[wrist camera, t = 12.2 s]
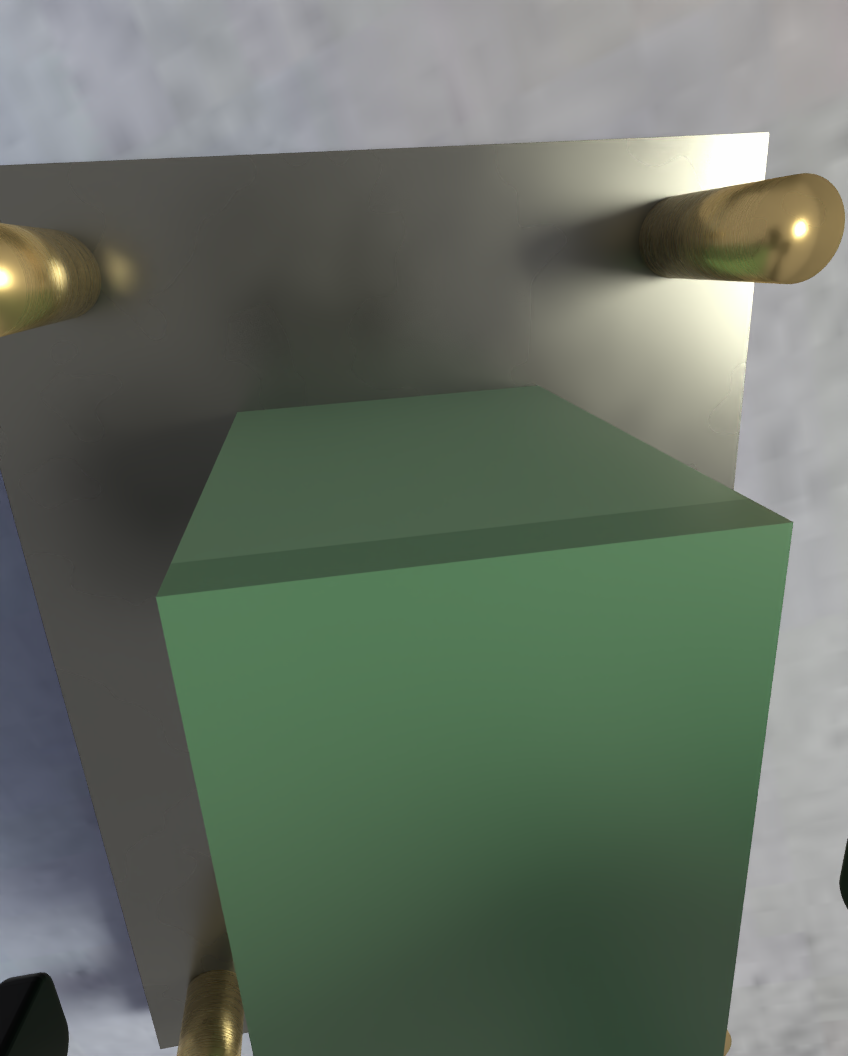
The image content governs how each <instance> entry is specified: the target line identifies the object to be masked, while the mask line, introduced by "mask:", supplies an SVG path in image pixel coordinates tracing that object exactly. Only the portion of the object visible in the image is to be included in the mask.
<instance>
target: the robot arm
mask: <svg viewBox="0 0 848 1056" xmlns="http://www.w3.org/2000/svg"><path fill="white" fill-rule="evenodd" d="M839 884H840V891H841V895H842V898H843V900H844V903H845V905H846V907H847V909H848V839H847V844H846V849H845V854H844V859H843V864H842V870H841V875H840V881H839ZM68 1043H69V1032H68V1025H67V1021H66V1018H65V1016H64V1013H63V1010H62V1007H61V1004H60V1001H59V998H58V995H57V992H56V989H55V986H54V983H53V981H52V979H51V977H50V976H49V975H48V974H46V973H42V972H40V973H34V974H28V975H23V976H17V977H12V978H9V979H6V980H5V981H3V982H2V983H1V984H0V1056H67V1053H68Z"/></svg>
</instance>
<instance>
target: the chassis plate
mask: <svg viewBox="0 0 848 1056" xmlns="http://www.w3.org/2000/svg"><path fill="white" fill-rule="evenodd" d="M768 139H769V133H745V134H722V135H699V136H676V137H652V138H629V139H606V140H582V141H559V142H536V143H513V144H489V145H466V146H443V147H419V148H396V149H373V150H350V151H326V152H303V153H280V154H256V155H233V156H210V157H187V158H163V159H140V160H117V161H93V162H70V163H47V164H24V165H0V469H1V473H2V477H3V480H4V484H5V488H6V491H7V495H8V498H9V502H10V506H11V509H12V513H13V517H14V520H15V524H16V527H17V531H18V535H19V538H20V542H21V546H22V549H23V553H24V556H25V560H26V564H27V567H28V571H29V575H30V578H31V582H32V585H33V589H34V593H35V596H36V600H37V604H38V607H39V611H40V614H41V618H42V622H43V625H44V629H45V633H46V636H47V640H48V643H49V647H50V651H51V654H52V658H53V662H54V665H55V669H56V672H57V676H58V680H59V683H60V687H61V690H62V694H63V698H64V701H65V705H66V709H67V712H68V716H69V719H70V723H71V727H72V730H73V734H74V738H75V741H76V745H77V748H78V752H79V756H80V759H81V763H82V767H83V770H84V774H85V777H86V781H87V785H88V788H89V792H90V796H91V799H92V803H93V806H94V810H95V814H96V817H97V821H98V825H99V828H100V832H101V835H102V839H103V843H104V846H105V850H106V854H107V857H108V861H109V864H110V868H111V872H112V875H113V879H114V883H115V886H116V890H117V893H118V897H119V901H120V904H121V908H122V912H123V915H124V919H125V922H126V926H127V930H128V933H129V937H130V941H131V944H132V948H133V951H134V955H135V959H136V962H137V966H138V970H139V973H140V977H141V980H142V984H143V988H144V991H145V995H146V999H147V1002H148V1006H149V1009H150V1013H151V1017H152V1020H153V1024H154V1028H155V1031H156V1035H157V1038H158V1042H159V1046H160V1049H163V1048H169V1047H174V1046H178V1051H177V1056H241V1047H242V1034H243V1033H248V1027H247V1023H246V1018H245V1013H244V1009H243V1004H242V999H241V994H240V990H239V985H238V980H237V976H236V971H235V966H234V962H233V957H232V952H231V947H230V943H229V938H228V933H227V929H226V924H225V919H224V915H223V910H222V905H221V900H220V896H219V891H218V886H217V882H216V877H215V872H214V868H213V863H212V858H211V853H210V849H209V844H208V839H207V835H206V830H205V825H204V821H203V816H202V811H201V807H200V802H199V797H198V792H197V788H196V783H195V778H194V774H193V769H192V764H191V760H190V755H189V750H188V745H187V741H186V736H185V731H184V727H183V722H182V717H181V713H180V708H179V703H178V698H177V694H176V689H175V684H174V680H173V675H172V670H171V666H170V661H169V656H168V651H167V647H166V642H165V637H164V633H163V628H162V623H161V619H160V614H159V609H158V604H157V600H156V596H157V594H158V591H159V589H160V587H161V585H162V582H163V580H164V578H165V575H166V573H167V571H168V569H169V566H170V564H171V562H172V560H173V557H174V555H175V553H176V551H177V548H178V546H179V544H180V541H181V539H182V537H183V535H184V532H185V530H186V528H187V526H188V523H189V521H190V519H191V516H192V514H193V512H194V510H195V507H196V505H197V503H198V501H199V498H200V496H201V494H202V491H203V489H204V487H205V485H206V482H207V480H208V478H209V476H210V473H211V471H212V469H213V466H214V464H215V462H216V460H217V457H218V455H219V453H220V451H221V448H222V446H223V444H224V442H225V439H226V437H227V435H228V432H229V430H230V428H231V426H232V423H233V421H234V419H235V417H236V414H237V412H245V411H256V410H267V409H279V408H290V407H301V406H313V405H324V404H335V403H347V402H358V401H369V400H381V399H392V398H403V397H415V396H426V395H437V394H449V393H460V392H471V391H483V390H494V389H505V388H517V387H528V386H540V387H542V388H544V389H546V390H548V391H550V392H551V393H553V394H555V395H557V396H559V397H561V398H563V399H564V400H566V401H568V402H570V403H572V404H574V405H576V406H577V407H579V408H581V409H583V410H585V411H587V412H589V413H590V414H592V415H594V416H596V417H598V418H600V419H602V420H604V421H605V422H607V423H609V424H611V425H613V426H615V427H617V428H618V429H620V430H622V431H624V432H626V433H628V434H630V435H631V436H633V437H635V438H637V439H639V440H641V441H643V442H645V443H646V444H648V445H650V446H652V447H654V448H656V449H658V450H659V451H661V452H663V453H665V454H667V455H669V456H671V457H672V458H674V459H676V460H678V461H680V462H682V463H684V464H686V465H687V466H689V467H691V468H693V469H695V470H697V471H699V472H700V473H702V474H704V475H706V476H708V477H710V478H712V479H713V480H715V481H717V482H719V483H721V484H723V485H725V486H726V487H728V488H730V489H732V490H733V489H734V479H735V469H736V459H737V449H738V439H739V429H740V419H741V409H742V399H743V389H744V379H745V369H746V359H747V349H748V339H749V329H750V319H751V309H752V299H753V289H754V282H757V283H777V284H794V283H799V282H803V281H805V280H807V279H810V278H811V277H813V276H815V275H816V274H817V273H819V272H820V271H821V270H822V269H823V268H824V267H825V266H826V265H827V264H828V263H829V262H830V260H831V259H832V257H833V256H834V254H835V253H836V251H837V249H838V247H839V244H840V242H841V239H842V236H843V231H844V224H845V212H844V206H843V202H842V199H841V197H840V195H839V193H838V191H837V190H836V188H835V187H834V186H833V185H832V184H831V183H830V182H829V181H828V180H827V179H825V178H823V177H821V176H818V175H815V174H808V173H803V174H796V175H790V176H784V177H779V178H773V179H767V180H764V179H765V169H766V159H767V149H768ZM730 1046H731V1036H730V1034H729V1032H728V1030H727V1032H726V1040H725V1047H724V1055H723V1056H725V1055H726V1054H727V1052H728V1051H729V1049H730Z"/></svg>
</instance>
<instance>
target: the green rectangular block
mask: <svg viewBox="0 0 848 1056" xmlns="http://www.w3.org/2000/svg"><path fill="white" fill-rule="evenodd" d="M792 528H793V522H792V521H790V520H788V519H786V518H784V517H782V516H781V515H779V514H777V513H775V512H773V511H771V510H769V509H767V508H766V507H764V506H762V505H760V504H758V503H756V502H754V501H753V500H751V499H749V498H747V497H745V496H743V495H741V494H740V493H738V492H736V491H734V490H732V489H730V488H728V487H726V486H725V485H723V484H721V483H719V482H717V481H715V480H713V479H712V478H710V477H708V476H706V475H704V474H702V473H700V472H699V471H697V470H695V469H693V468H691V467H689V466H687V465H686V464H684V463H682V462H680V461H678V460H676V459H674V458H672V457H671V456H669V455H667V454H665V453H663V452H661V451H659V450H658V449H656V448H654V447H652V446H650V445H648V444H646V443H645V442H643V441H641V440H639V439H637V438H635V437H633V436H631V435H630V434H628V433H626V432H624V431H622V430H620V429H618V428H617V427H615V426H613V425H611V424H609V423H607V422H605V421H604V420H602V419H600V418H598V417H596V416H594V415H592V414H590V413H589V412H587V411H585V410H583V409H581V408H579V407H577V406H576V405H574V404H572V403H570V402H568V401H566V400H564V399H563V398H561V397H559V396H557V395H555V394H553V393H551V392H550V391H548V390H546V389H544V388H542V387H540V386H528V387H517V388H505V389H494V390H483V391H471V392H460V393H449V394H437V395H426V396H415V397H403V398H392V399H381V400H369V401H358V402H347V403H335V404H324V405H313V406H301V407H290V408H279V409H267V410H256V411H245V412H237V414H236V417H235V419H234V421H233V423H232V426H231V428H230V430H229V432H228V435H227V437H226V439H225V442H224V444H223V446H222V448H221V451H220V453H219V455H218V457H217V460H216V462H215V464H214V466H213V469H212V471H211V473H210V476H209V478H208V480H207V482H206V485H205V487H204V489H203V491H202V494H201V496H200V498H199V501H198V503H197V505H196V507H195V510H194V512H193V514H192V516H191V519H190V521H189V523H188V526H187V528H186V530H185V532H184V535H183V537H182V539H181V541H180V544H179V546H178V548H177V551H176V553H175V555H174V557H173V560H172V562H171V564H170V566H169V569H168V571H167V573H166V575H165V578H164V580H163V582H162V585H161V587H160V589H159V591H158V594H157V596H156V600H157V604H158V609H159V614H160V619H161V623H162V628H163V633H164V637H165V642H166V647H167V651H168V656H169V661H170V666H171V670H172V675H173V680H174V684H175V689H176V694H177V698H178V703H179V708H180V713H181V717H182V722H183V727H184V731H185V736H186V741H187V745H188V750H189V755H190V760H191V764H192V769H193V774H194V778H195V783H196V788H197V792H198V797H199V802H200V807H201V811H202V816H203V821H204V825H205V830H206V835H207V839H208V844H209V849H210V853H211V858H212V863H213V868H214V872H215V877H216V882H217V886H218V891H219V896H220V900H221V905H222V910H223V915H224V919H225V924H226V929H227V933H228V938H229V943H230V947H231V952H232V957H233V962H234V966H235V971H236V976H237V980H238V985H239V990H240V994H241V999H242V1004H243V1009H244V1013H245V1018H246V1023H247V1027H248V1032H249V1037H250V1041H251V1046H252V1051H253V1056H723V1055H724V1047H725V1040H726V1032H727V1025H728V1017H729V1009H730V1002H731V994H732V986H733V979H734V971H735V963H736V956H737V948H738V940H739V933H740V925H741V918H742V910H743V902H744V895H745V887H746V879H747V872H748V864H749V856H750V849H751V841H752V833H753V826H754V818H755V811H756V803H757V795H758V788H759V780H760V772H761V765H762V757H763V749H764V742H765V734H766V726H767V719H768V711H769V704H770V696H771V688H772V681H773V673H774V665H775V658H776V650H777V642H778V635H779V627H780V620H781V612H782V604H783V597H784V589H785V581H786V574H787V566H788V558H789V551H790V543H791V535H792Z"/></svg>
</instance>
